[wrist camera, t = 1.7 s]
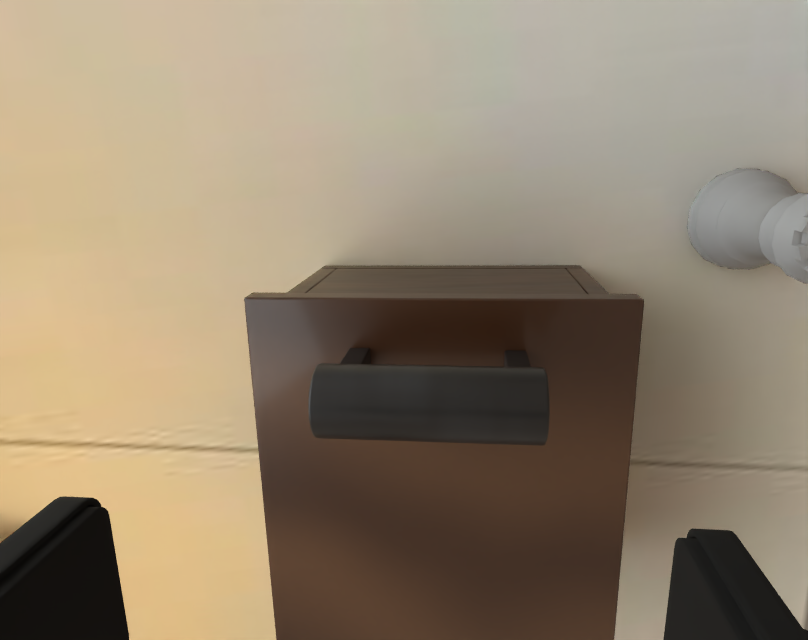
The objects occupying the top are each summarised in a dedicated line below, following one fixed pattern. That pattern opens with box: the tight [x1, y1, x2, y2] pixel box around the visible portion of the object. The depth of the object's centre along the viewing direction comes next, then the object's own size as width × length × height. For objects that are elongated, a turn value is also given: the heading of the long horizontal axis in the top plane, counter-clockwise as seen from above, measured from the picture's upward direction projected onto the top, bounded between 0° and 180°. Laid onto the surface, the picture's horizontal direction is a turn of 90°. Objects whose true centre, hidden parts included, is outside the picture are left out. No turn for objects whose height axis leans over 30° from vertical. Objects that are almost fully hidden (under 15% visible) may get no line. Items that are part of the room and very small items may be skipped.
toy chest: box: [287, 265, 609, 294], centre depth 26 cm, size 16×13×10 cm
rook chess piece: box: [687, 168, 808, 283], centre depth 23 cm, size 4×4×8 cm
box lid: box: [244, 293, 644, 640], centre depth 19 cm, size 16×13×5 cm
